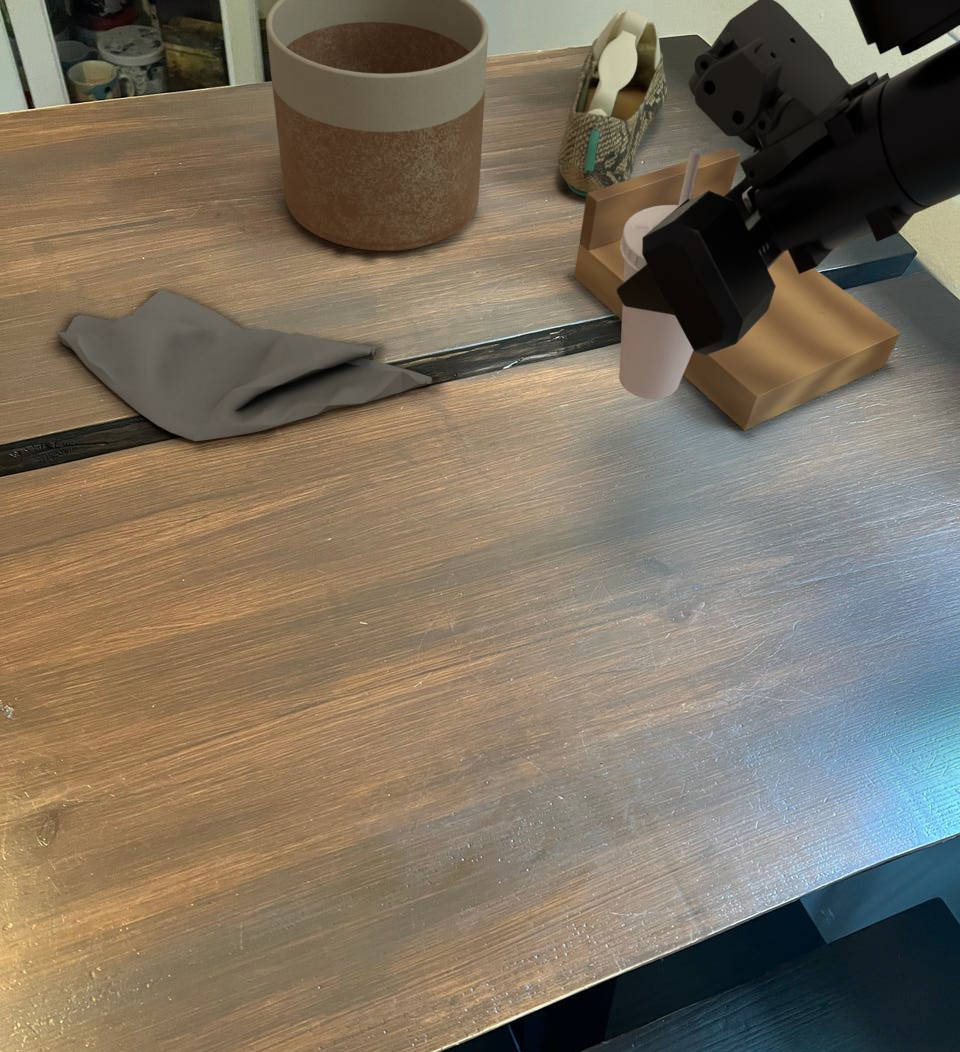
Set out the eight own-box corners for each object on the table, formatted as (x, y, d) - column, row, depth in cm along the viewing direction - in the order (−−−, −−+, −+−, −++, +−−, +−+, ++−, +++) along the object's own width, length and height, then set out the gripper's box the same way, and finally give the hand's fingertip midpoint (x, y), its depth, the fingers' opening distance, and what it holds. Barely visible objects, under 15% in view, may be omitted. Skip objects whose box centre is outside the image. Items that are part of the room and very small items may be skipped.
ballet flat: (672, 82, 98) (694, -24, 90) (636, 215, 83) (658, 102, 76) (589, 67, 98) (604, -39, 91) (539, 197, 84) (552, 83, 77)
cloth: (7, 387, 67) (-4, 360, 65) (118, 275, 74) (110, 248, 73) (365, 497, 63) (364, 471, 61) (442, 367, 71) (443, 340, 69)
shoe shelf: (708, 229, 83) (730, 146, 77) (884, 366, 73) (924, 283, 68) (573, 277, 78) (586, 192, 72) (744, 430, 68) (774, 347, 63)
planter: (247, 189, 82) (222, 6, 71) (399, 133, 89) (397, -42, 78) (362, 283, 76) (354, 98, 65) (517, 215, 82) (533, 37, 71)
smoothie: (679, 341, 64) (734, 121, 52) (716, 407, 60) (783, 185, 49) (584, 352, 63) (619, 129, 51) (615, 420, 59) (661, 196, 48)
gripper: (920, -101, 46) (665, 74, 58) (734, 33, 36) (477, 208, 49) (1006, 128, 50) (749, 246, 62) (858, 302, 40) (591, 401, 53)
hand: (651, 270), depth 56 cm, fingers closed on smoothie, 6 cm apart
